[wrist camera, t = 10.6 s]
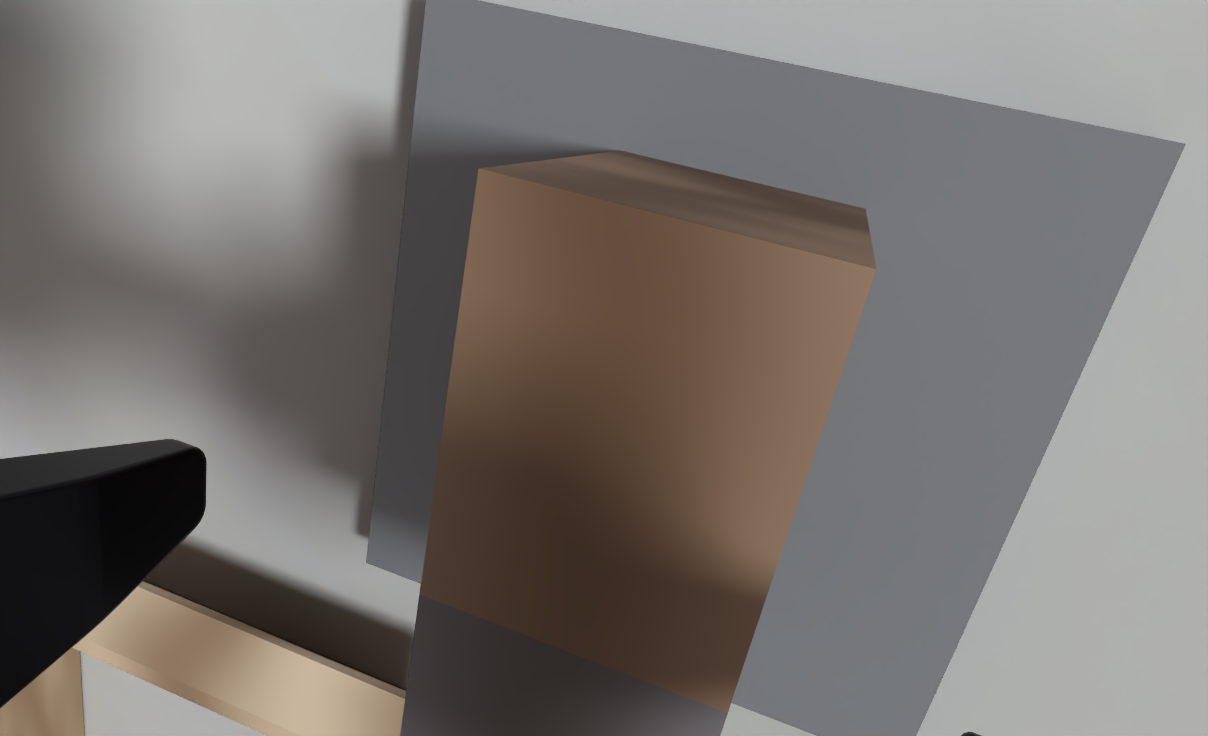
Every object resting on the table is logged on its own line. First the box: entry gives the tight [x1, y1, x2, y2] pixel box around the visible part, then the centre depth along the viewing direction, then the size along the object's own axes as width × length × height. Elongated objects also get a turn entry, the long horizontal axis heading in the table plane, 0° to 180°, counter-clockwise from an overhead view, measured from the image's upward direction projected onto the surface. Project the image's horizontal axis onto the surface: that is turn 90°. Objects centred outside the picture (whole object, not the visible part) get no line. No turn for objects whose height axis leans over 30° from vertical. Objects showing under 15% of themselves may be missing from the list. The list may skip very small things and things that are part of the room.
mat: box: [366, 0, 1185, 736], centre depth 16 cm, size 13×13×1 cm
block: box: [400, 151, 876, 736], centre depth 13 cm, size 4×9×6 cm, turn 169°
